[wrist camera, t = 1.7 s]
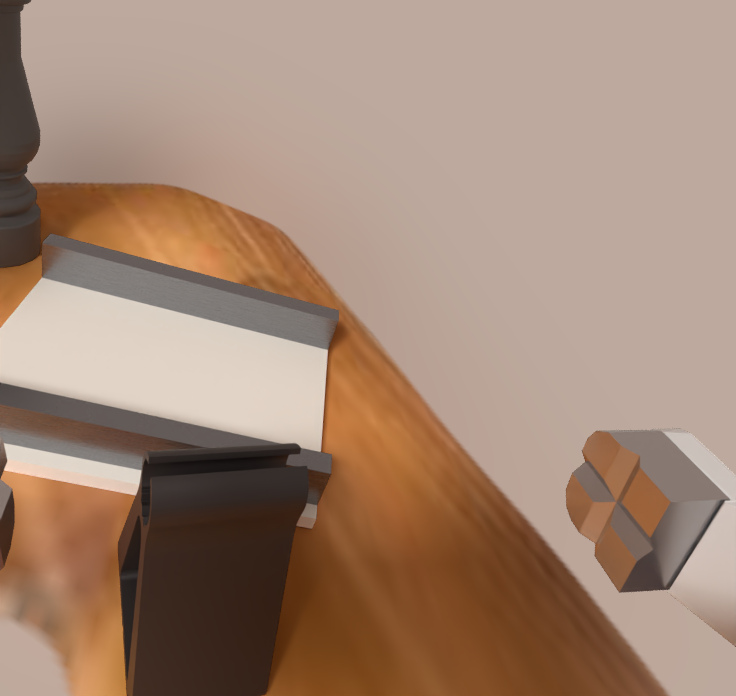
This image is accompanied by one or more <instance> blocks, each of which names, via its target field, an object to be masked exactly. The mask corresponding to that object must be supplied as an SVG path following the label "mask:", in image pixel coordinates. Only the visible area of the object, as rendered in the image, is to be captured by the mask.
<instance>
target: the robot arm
mask: <svg viewBox="0 0 736 696" xmlns="http://www.w3.org/2000/svg"><path fill="white" fill-rule="evenodd" d="M582 453H583V456H584V459H585V463H583V464H582V465H581V466H580V467H579V468H578V469H576V470H575V471H574V472H573V473H572V475H571V478H570V480H569V483H568V485H567V488H566V506H567V509H568V512H569V515H570V518H571V520H572V522H573V524H574V525H575V527H576V528H577V530H578V531H579V533H581V534H582V535H584V536H585V537H587V538H588V539H589V540H591V541H592V542H594V543H595V544H596V545H595V557H596V559H597V560H598V562H599V563H600V564H601V566H602V568H603V569H604V571H605V572H606V573H607V575H608V576H609V578H610V579H611V581H612V582H613V584H614V585H615V587H616V588H617V590H618V591H619V592H637V591H653V590H668V589H669V591H668V593H669V594H670V595H672V596H673V597H674V598H675V599H677V600H678V601H679V602H680V603H682V604H683V605H684V606H685V607H687V608H688V609H689V610H690V611H692V612H693V613H694V614H695V615H697V616H698V617H699V618H700V619H702V620H703V621H704V622H705V623H707V624H708V625H709V626H710V627H712V628H713V629H714V630H715V631H717V632H718V633H719V634H720V635H722V636H723V637H724V638H725V639H727V640H728V641H729V642H730V643H732V644H733V645H734V646H735V647H736V475H735V474H734V473H733V472H732V471H731V470H730V469H728V467H727V466H726V465H724V464H723V463H722V462H721V461H720V460H719V459H718V458H717V457H716V456H715V455H714V454H713V453H712V452H711V451H710V450H708V449H707V448H706V447H705V446H704V445H703V444H702V443H701V442H700V441H699V440H698V439H697V438H696V437H694V435H693V434H691V433H689V432H687V431H685V430H682V429H680V428H676V429H675V428H674V429H652V430H624V431H623V430H621V431H620V430H619V431H596V432H594V433H593V434H592V435H591V436H590V437H589V438H588V439H587V441H586V444H585V446H584V448H583V450H582ZM6 463H7V456H6V451H5V447H4V442H3V439H2V438H1V437H0V478H1V476H2V473H3V471H4V468H5V466H6ZM13 529H14V498H13V492H12V488H10V487H9V486H8V485H7V484H5V483H4V482H3V481H2V480H0V570H1V569H2V568H4V565H5V562H6V559H7V556H8V553H9V550H10V547H11V541H12V535H13Z"/></svg>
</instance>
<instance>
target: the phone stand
mask: <svg viewBox="0 0 736 696" xmlns="http://www.w3.org/2000/svg"><path fill="white" fill-rule="evenodd" d="M300 451H301V447H300V446H299V445H298V444H296V443H286V444H268V445H250V446H232V447H213V448H195V449H177V450H159V451H145V453H144V456H143V461H142V469H141V477H140V483H139V488H138V491H137V494H136V496H135V499H134V502H133V504H132V507H131V510H130V512H129V515H128V518H127V520H126V523H125V526H124V528H123V531H122V533H121V536H120V539H119V541H118V560H119V576H120V593H121V609H122V626H123V642H124V659H125V675H126V691H127V696H261V695H265V694H266V692H267V686H268V680H269V675H270V669H271V663H272V657H273V651H274V646H275V640H276V634H277V628H278V623H279V617H280V611H281V605H282V599H283V594H284V588H285V582H286V576H287V571H288V565H289V559H290V553H291V547H292V542H293V536H294V532H295V528H296V525H297V522H298V520H299V518H300V516H301V514H302V513H303V511H304V509H305V507H306V503H307V499H308V490H309V478H308V468H307V466H296V467H286V463H287V459H288V456H289V455H293V454H300Z"/></svg>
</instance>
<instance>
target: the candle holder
mask: <svg viewBox="0 0 736 696" xmlns="http://www.w3.org/2000/svg"><path fill="white" fill-rule="evenodd" d="M29 2H31V0H0V267H10V266H18V265H22V264H24V263H27V262H29V261H32V260H33V259H34V258H35V257H36V256H37V255H38V254H39V253H40V208H39V207H38V205H37V204H36V199H37V191H36V189H35V188H34V187H33V185H32V184H31V183H30V182H29V180H28V179H27V178H26V177H25V175H24V174H25V173H26V172H27V164H28V163H29V162H30V161H32V159H33V158H34V157H35V155H36V154H37V152H38V148H39V146H40V129H39V125H38V121H37V117H36V113H35V110H34V106H33V102H32V98H31V94H30V90H29V86H28V83H27V78H26V74H25V70H24V66H23V62H22V59H21V27H20V11H22V10H23V7H24V6H23V5H24V4H28V3H29Z"/></svg>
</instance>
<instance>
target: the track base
mask: <svg viewBox="0 0 736 696" xmlns="http://www.w3.org/2000/svg"><path fill="white" fill-rule="evenodd" d="M327 355H328V350H326V349H322V348H318V347H314V346H310V345H306V344H302V343H298V342H294V341H290V340H286V339H282V338H278V337H274V336H270V335H266V334H263V333H259V332H255V331H251V330H247V329H243V328H239V327H235V326H231V325H227V324H223V323H219V322H215V321H211V320H207V319H203V318H199V317H195V316H191V315H187V314H184V313H180V312H176V311H172V310H168V309H164V308H160V307H156V306H152V305H148V304H144V303H140V302H136V301H132V300H128V299H124V298H120V297H116V296H112V295H108V294H105V293H101V292H97V291H93V290H89V289H85V288H81V287H77V286H73V285H69V284H65V283H61V282H57V281H53V280H49V279H45V278H41V279H40V281H39V282H38V283H37V284H36V285H35V287H34V288H33V289H32V290H31V292H30V293H29V294H28V295H27V296H26V298H25V299H24V300H23V301H22V302H21V304H20V305H19V306H18V307H17V309H16V310H15V311H14V312H13V313H12V315H11V316H10V317H9V318H8V319H7V321H6V322H5V323H4V324H3V326H2V327H1V328H0V383H5V384H9V385H14V386H19V387H23V388H28V389H32V390H37V391H42V392H46V393H51V394H55V395H60V396H65V397H69V398H74V399H78V400H83V401H88V402H92V403H97V404H101V405H106V406H111V407H115V408H120V409H124V410H129V411H134V412H138V413H143V414H148V415H152V416H157V417H161V418H166V419H171V420H175V421H180V422H184V423H189V424H194V425H198V426H203V427H207V428H212V429H217V430H221V431H226V432H230V433H235V434H240V435H244V436H249V437H253V438H258V439H263V440H267V441H272V442H276V443H281V444H286V443H296V444H298V445H299V446H300V447H301V448H304V449H309V450H313V451H318V452H321V443H322V428H323V414H324V399H325V384H326V370H327ZM4 447H5V451H6V456H7V463H6V466H5V468H4V470H5V471H10V472H15V473H20V474H26V475H31V476H36V477H42V478H47V479H52V480H57V481H63V482H68V483H73V484H78V485H84V486H89V487H94V488H99V489H105V490H110V491H115V492H121V493H126V494H131V495H136V494H137V491H138V488H139V483H140V477H141V470H137V469H132V468H127V467H122V466H117V465H112V464H106V463H101V462H96V461H91V460H86V459H81V458H76V457H71V456H66V455H61V454H56V453H51V452H46V451H41V450H36V449H31V448H26V447H21V446H16V445H11V444H6V443H4ZM316 516H317V505H313V504H308V503H306V507H305V509H304V511H303V513H302V514H301V516H300V518H299V520H298V522H297V525H296V526H299V527H305V528H310V529H312V527H313V525H314V523H315V521H316Z"/></svg>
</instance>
